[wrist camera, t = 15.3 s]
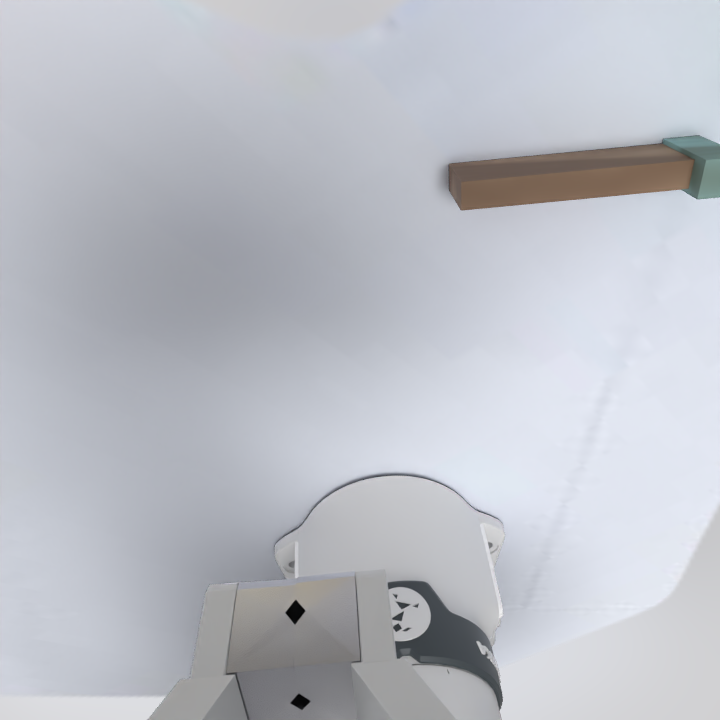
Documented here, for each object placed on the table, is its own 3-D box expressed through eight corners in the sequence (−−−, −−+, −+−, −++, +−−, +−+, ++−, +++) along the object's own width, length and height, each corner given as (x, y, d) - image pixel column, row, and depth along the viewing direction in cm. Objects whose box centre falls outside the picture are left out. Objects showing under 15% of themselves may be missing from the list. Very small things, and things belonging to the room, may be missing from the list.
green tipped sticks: (690, 171, 35) (736, 195, 31) (449, 194, 35) (464, 221, 31) (767, -185, 27) (841, -211, 23) (449, -155, 27) (470, -176, 23)
